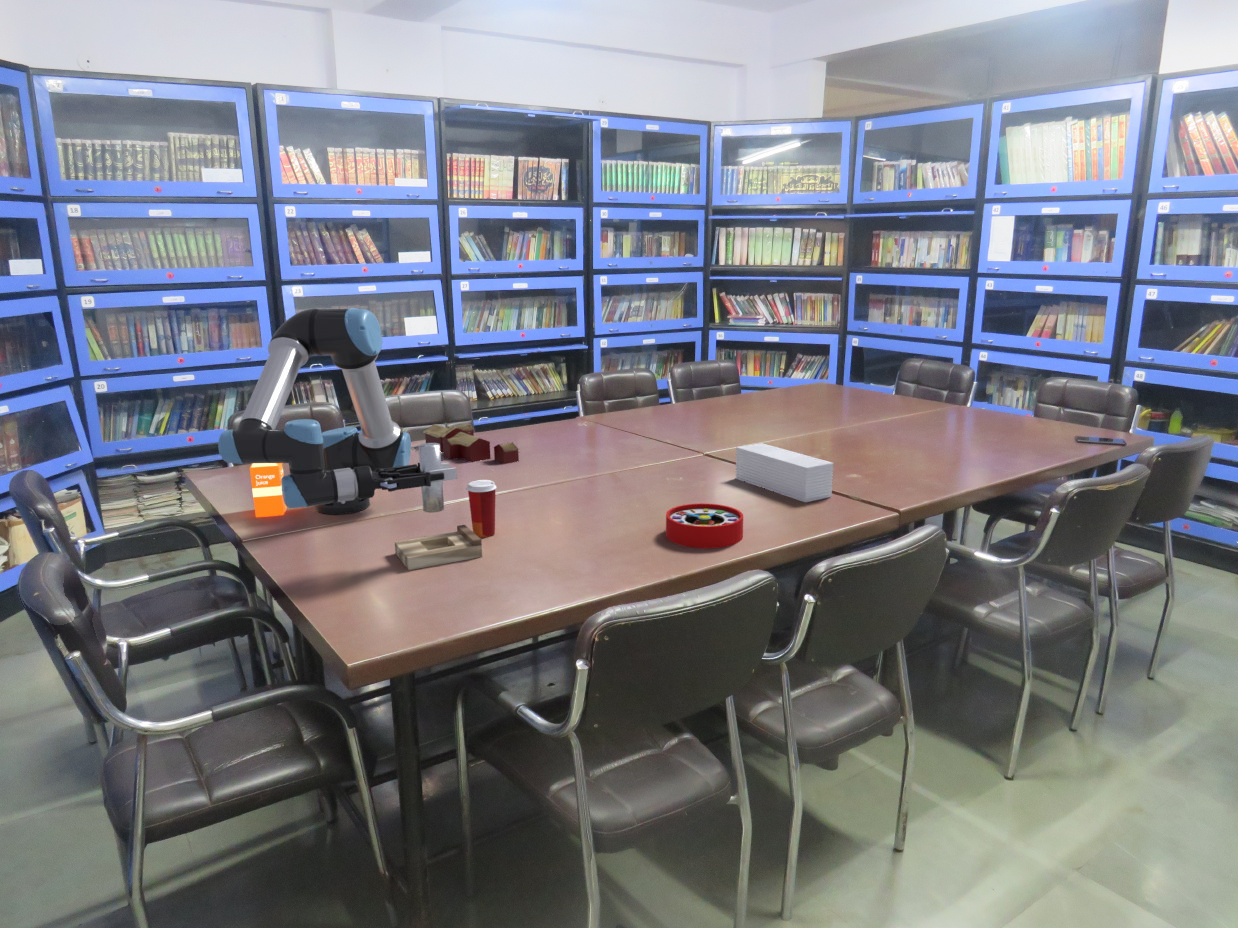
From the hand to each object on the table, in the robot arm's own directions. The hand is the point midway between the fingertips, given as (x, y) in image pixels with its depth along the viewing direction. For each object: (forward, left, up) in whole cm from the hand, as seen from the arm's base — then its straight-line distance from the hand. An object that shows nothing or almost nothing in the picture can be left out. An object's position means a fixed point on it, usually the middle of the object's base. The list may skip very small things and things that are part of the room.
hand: (452, 470), depth 202 cm
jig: (0, -5, -21) cm, 21 cm away
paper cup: (-10, +10, -21) cm, 25 cm away
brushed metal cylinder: (0, -5, -9) cm, 10 cm away
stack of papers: (-6, +106, -21) cm, 108 cm away
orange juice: (-60, -37, -21) cm, 73 cm away
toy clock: (+20, +60, -21) cm, 67 cm away
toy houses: (-99, +36, -21) cm, 108 cm away
